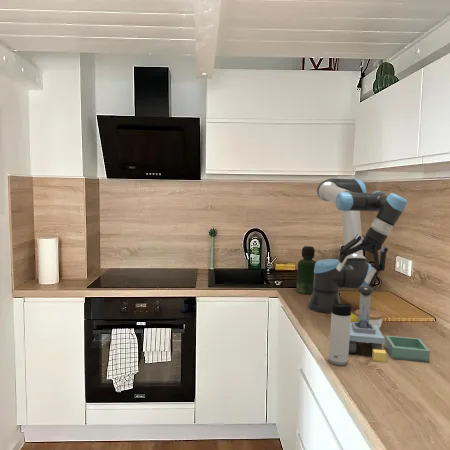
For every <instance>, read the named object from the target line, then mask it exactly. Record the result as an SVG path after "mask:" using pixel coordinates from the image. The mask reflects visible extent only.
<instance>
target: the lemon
mask: <svg viewBox="0 0 450 450" xmlns="http://www.w3.org/2000/svg"><path fill="white" fill-rule="evenodd" d="M352 322H357V318H356V316H355V313H352V312H351V323H352Z"/></svg>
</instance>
